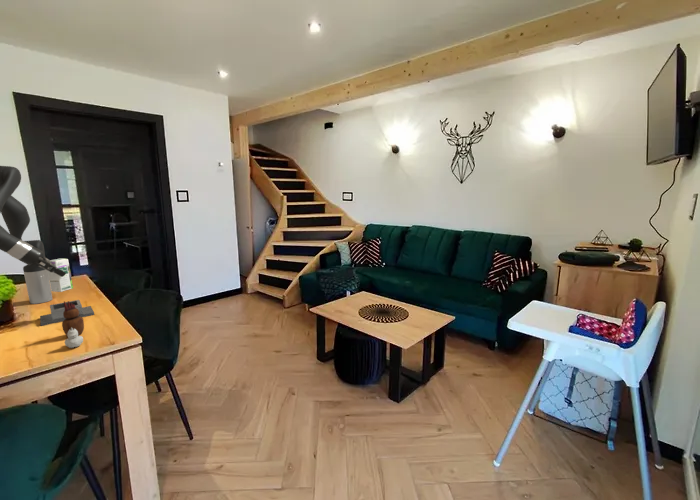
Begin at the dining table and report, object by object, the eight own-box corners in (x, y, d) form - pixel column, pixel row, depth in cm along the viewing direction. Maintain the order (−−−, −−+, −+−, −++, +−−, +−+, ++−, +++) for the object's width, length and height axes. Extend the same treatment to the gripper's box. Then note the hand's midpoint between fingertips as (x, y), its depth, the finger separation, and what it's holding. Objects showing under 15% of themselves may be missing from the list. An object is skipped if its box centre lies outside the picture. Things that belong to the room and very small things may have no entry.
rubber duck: (65, 351, 124) (61, 330, 123) (66, 345, 129) (62, 325, 128) (84, 347, 127) (80, 327, 126) (83, 341, 132) (80, 321, 131)
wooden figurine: (67, 339, 134) (61, 303, 131) (62, 336, 137) (55, 301, 134) (87, 333, 140) (82, 298, 137) (81, 330, 143) (76, 296, 140)
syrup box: (61, 292, 154) (55, 260, 151) (50, 291, 155) (45, 260, 153) (73, 288, 159) (68, 258, 157) (63, 288, 161) (58, 258, 158)
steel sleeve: (40, 318, 158) (38, 306, 157) (90, 308, 171) (89, 297, 170) (40, 326, 149) (38, 313, 148) (94, 314, 161) (92, 303, 160)
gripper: (32, 247, 143) (71, 269, 153) (32, 244, 154) (69, 264, 163) (17, 261, 141) (58, 283, 150) (18, 257, 151) (56, 277, 161)
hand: (63, 273), depth 157 cm, fingers closed on syrup box, 7 cm apart
